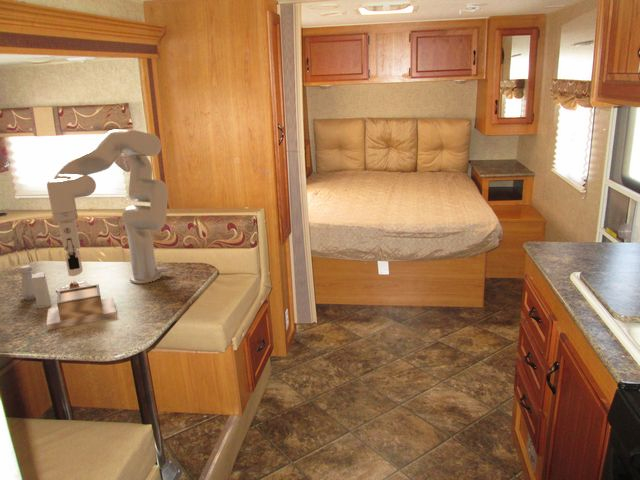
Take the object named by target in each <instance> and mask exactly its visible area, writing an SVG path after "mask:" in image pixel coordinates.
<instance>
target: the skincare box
mask: <svg viewBox="0 0 640 480" xmlns="http://www.w3.org/2000/svg"><path fill="white" fill-rule="evenodd" d="M31 274H32V283H33V288H34V292H35V296H36V298H35V301H36V304H37V308H38V309H43V308H49V307H51V304H52V299H51V295H50V292H49V287H48V282H47V278H46V273H45V271H39V272H35V273H31Z"/></svg>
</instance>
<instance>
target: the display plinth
mask: <svg viewBox="0 0 640 480" xmlns="http://www.w3.org/2000/svg"><path fill="white" fill-rule="evenodd" d="M90 285H91V284H90ZM56 301H57V302H56V304H57V306H56V307H52V308H48V309H47V317H46V327H47V328H46V329H47V331H50V330H54V329H59V328H65V327H70V326H76V325H80V324H87V323H90V322H91V323H92V322H97V321H103V320H107V319H112V318H116V317H117V316H118V315H117V311H116V305H115V300H114V297H108V298H103V299H102V296H101V291H100V284H98V283H97V284H92V285H91V286H85V285H84V286H80V287H79V288H73V289H69V288H66V289H62V290H59V291H58V292H57V298H56Z"/></svg>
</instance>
